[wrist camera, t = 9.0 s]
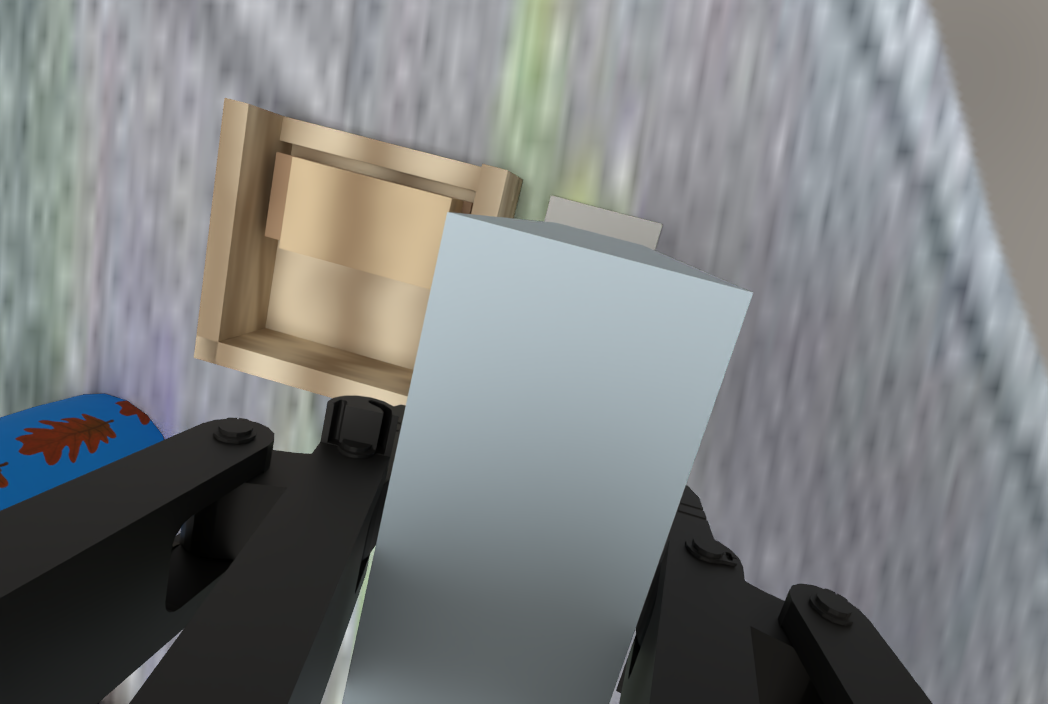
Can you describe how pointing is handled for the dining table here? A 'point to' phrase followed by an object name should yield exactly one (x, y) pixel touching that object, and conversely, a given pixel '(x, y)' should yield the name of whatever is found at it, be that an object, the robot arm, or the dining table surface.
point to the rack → (317, 264)
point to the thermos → (67, 442)
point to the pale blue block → (537, 464)
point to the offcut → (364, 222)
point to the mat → (603, 222)
